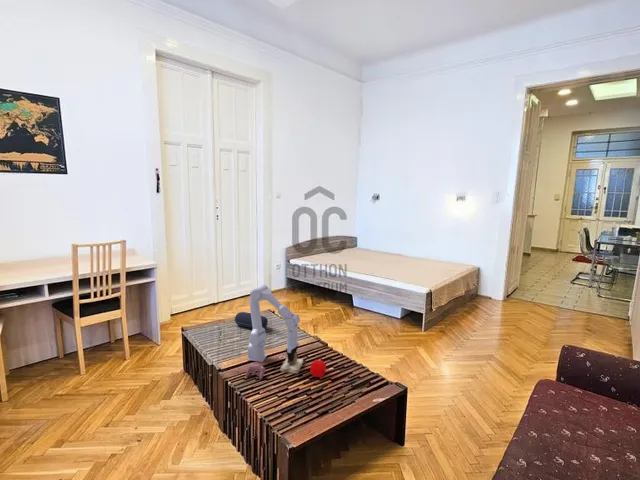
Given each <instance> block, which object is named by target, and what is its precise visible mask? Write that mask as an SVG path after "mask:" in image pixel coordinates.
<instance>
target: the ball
mask: <svg viewBox="0 0 640 480" xmlns="http://www.w3.org/2000/svg"><path fill="white" fill-rule="evenodd" d="M326 371H327V364H326V363H325V362H324V360H317V359H315V360H314V361H312V362H311V364H310V369H309V373H310V375H312V376H313V377H314V378H315V377H316V378H323V376H325V375H326Z"/></svg>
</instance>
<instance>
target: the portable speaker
mask: <svg viewBox="0 0 640 480" xmlns="http://www.w3.org/2000/svg"><path fill="white" fill-rule="evenodd" d="M234 322H235V324H236V325H237V326H240V327H244V328H247V329H252V330H253V327H252V319H251V312H250V313H249V312H245V311H241V312H238V313H236V315H235V316H234ZM261 322H262V327H263V328H264V329H265V330H266V329H267V327H268V322H269V321H268V317H266V316H264V315H261Z"/></svg>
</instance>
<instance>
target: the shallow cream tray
mask: <svg viewBox="0 0 640 480" xmlns="http://www.w3.org/2000/svg"><path fill="white" fill-rule="evenodd" d="M284 359H285V360H284V361H283V363H282V365H281V367H280V372H283V373H291V374H299V372H300V370H301V368H302V365H303V363H304V359H303V358H297V361H296V364H290V363H287V362H288V357H286V358H284Z"/></svg>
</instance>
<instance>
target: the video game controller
mask: <svg viewBox="0 0 640 480" xmlns="http://www.w3.org/2000/svg"><path fill="white" fill-rule="evenodd" d="M265 372H266V368H265V366H262V365H261V364H259V363H256V364H255V363H253V364H250V365H249V366H248V368H247V370H246V372H245V377H248V376H249V375H250V374H251V375H253V376H255V375H256V376H257V377H259V380H260V381H261V380H262V379H263V377H264V376H265Z"/></svg>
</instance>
